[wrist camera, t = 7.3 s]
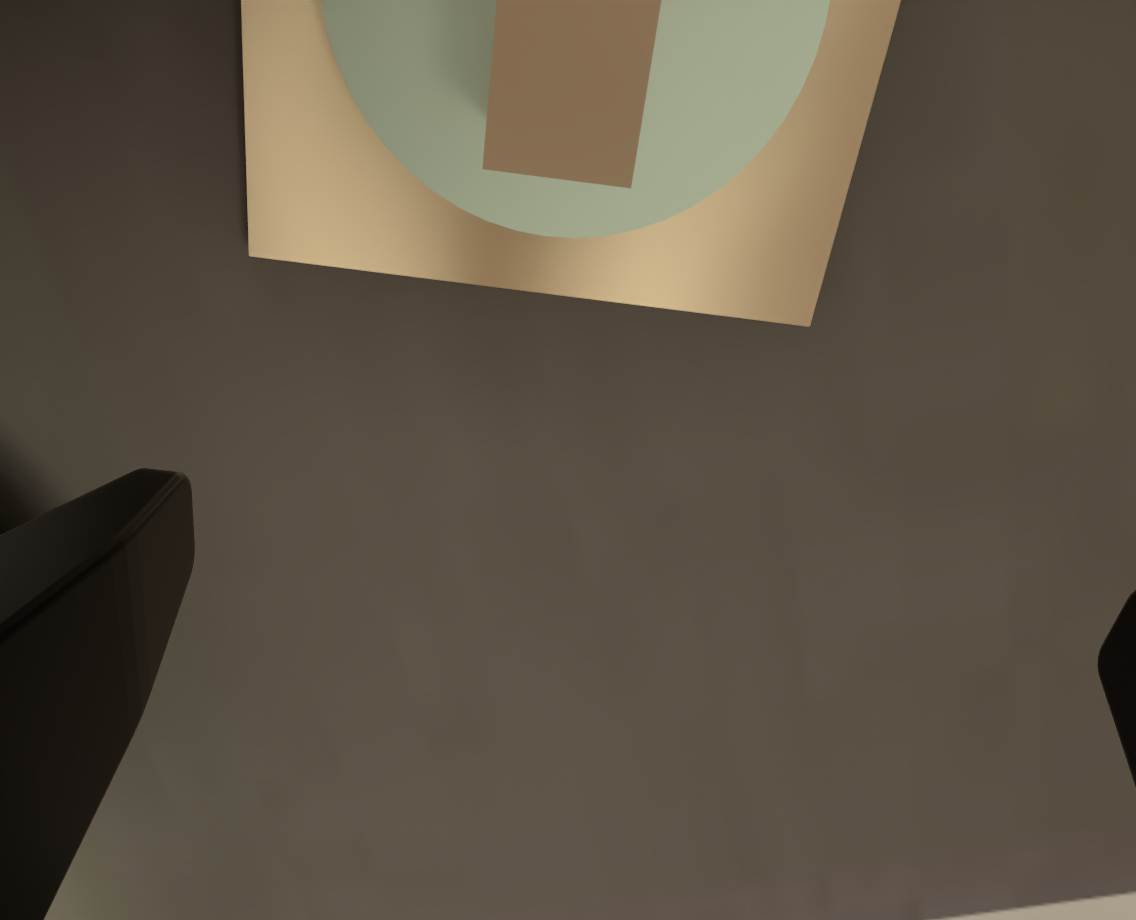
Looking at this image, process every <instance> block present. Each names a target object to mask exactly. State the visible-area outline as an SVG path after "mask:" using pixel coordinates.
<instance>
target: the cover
mask: <svg viewBox="0 0 1136 920" xmlns="http://www.w3.org/2000/svg"><path fill="white" fill-rule="evenodd" d="M829 3H830V0H321V4H322V9H323V15H324V21H325V26H326V29H327V32H328V36H329V39H330V42H331V46H332V49H333V52H334V56H335V59H336V61H337V64H338V66H339V68H340V71H341V73H342V75H343V78H344V80H345V82H346V84H347V87H348V89H349V91H350V93H351V95H352V97H353V98H354V100H355V102H356V104H357V105H358V107H359V109H360V110H361V112H362V114H363V116H364V117H365V119H366V121H367V122H368V124H369V125H370V126H371V128H372V129H373V130H374V132H375V133H376V134H377V136H378V137H379V138H380V140H381V141H382V142H383V144H384V145H385V146H386V148H387V149H388V150H389V151H390V152H391V153H392V154H393V155H394V156H395V157H396V158H397V159H398V160H399V161H400V162H401V163H402V164H403V166H404V167H405V168H406V169H407V170H408V171H409V172H410V173H412V174H413V175H414V176H415V177H416V178H418V179H419V180H420V181H421V182H423V183H424V184H425V185H426V186H427V187H429V188H430V189H431V190H432V191H434V192H435V193H437V194H438V195H440V196H441V197H443V198H444V199H446V200H448V201H449V202H451V203H452V204H454V205H456V206H457V207H459V208H460V209H462V210H465V211H467V212H469V213H471V214H473V215H475V216H477V217H479V218H481V219H484V220H486V221H488V222H491V223H494V224H497V225H500V226H503V227H506V228H509V229H512V230H516V231H520V232H525V233H531V234H536V235H541V236H548V237H565V238H585V237H600V236H608V235H613V234H618V233H623V232H629V231H634V230H637V229H640V228H643V227H646V226H649V225H652V224H655V223H658V222H661V221H664V220H666V219H668V218H670V217H672V216H674V215H676V214H678V213H680V212H682V211H685V210H687V209H689V208H691V207H692V206H694V205H695V204H697V203H699V202H700V201H702V200H703V199H705V198H706V197H708V196H710V195H711V194H713V193H714V192H716V191H717V190H718V189H720V188H721V187H722V186H723V185H724V184H726V183H727V182H728V181H729V180H731V179H732V178H733V177H734V176H735V175H737V174H738V173H739V172H740V171H741V170H742V169H743V168H744V167H745V166H746V165H747V164H748V163H749V162H750V161H751V160H752V159H753V158H754V157H755V156H756V155H757V154H758V153H759V152H760V150H761V149H762V148H763V147H764V146H765V145H766V143H767V142H768V141H769V139H770V138H771V137H772V135H773V134H774V133H775V131H776V130H777V129H778V127H779V126H780V125H781V123H782V122H783V121H784V119H785V117H786V116H787V114H788V112H789V111H790V109H791V107H792V105H793V104H794V102H795V100H796V98H797V97H798V95H799V93H800V92H801V90H802V87H803V85H804V83H805V80H806V78H807V76H808V74H809V71H810V69H811V67H812V64H813V62H814V60H815V57H816V54H817V51H818V47H819V44H820V41H821V37H822V34H823V31H824V28H825V24H826V19H827V14H828V8H829Z"/></svg>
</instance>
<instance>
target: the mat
mask: <svg viewBox="0 0 1136 920" xmlns="http://www.w3.org/2000/svg"><path fill="white" fill-rule="evenodd" d="M900 2H901V0H830V3H829V8H828V14H827V19H826V24H825V28H824V31H823V34H822V37H821V41H820V44H819V47H818V51H817V54H816V57H815V60H814V62H813V64H812V67H811V69H810V71H809V74H808V76H807V78H806V80H805V83H804V85H803V87H802V90H801V92H800V93H799V95H798V97H797V98H796V100H795V102H794V104H793V105H792V107H791V109H790V111H789V112H788V114H787V116H786V117H785V119H784V121H783V122H782V123H781V125H780V126H779V127H778V129H777V130H776V131H775V133H774V134H773V135H772V137H771V138H770V139H769V141H768V142H767V143H766V145H765V146H764V147H763V148H762V149H761V150H760V152H759V153H758V154H757V155H756V156H755V157H754V158H753V159H752V160H751V161H750V162H749V163H748V164H747V165H746V166H745V167H744V168H743V169H742V170H741V171H740V172H739V173H738V174H737V175H735V176H734V177H733V178H732V179H731V180H729V181H728V182H727V183H726V184H724V185H723V186H722V187H721V188H720V189H718V190H717V191H716V192H714V193H713V194H711V195H710V196H708V197H706V198H705V199H703V200H702V201H700V202H699V203H697V204H695V205H694V206H692V207H691V208H689V209H687V210H685V211H682V212H680V213H678V214H676V215H674V216H672V217H670V218H668V219H666V220H664V221H661V222H658V223H655V224H652V225H649V226H646V227H643V228H640V229H637V230H634V231H629V232H623V233H618V234H613V235H608V236H600V237H585V238H565V237H548V236H541V235H536V234H531V233H525V232H520V231H516V230H512V229H509V228H506V227H503V226H500V225H497V224H494V223H491V222H488V221H486V220H484V219H481V218H479V217H477V216H475V215H473V214H471V213H469V212H467V211H465V210H462V209H460V208H459V207H457V206H456V205H454V204H452V203H451V202H449V201H448V200H446V199H444V198H443V197H441V196H440V195H438V194H437V193H435V192H434V191H432V190H431V189H430V188H429V187H427V186H426V185H425V184H424V183H423V182H421V181H420V180H419V179H418V178H416V177H415V176H414V175H413V174H412V173H410V172H409V171H408V170H407V169H406V168H405V167H404V166H403V164H402V163H401V162H400V161H399V160H398V159H397V158H396V157H395V156H394V155H393V154H392V153H391V152H390V151H389V150H388V149H387V148H386V146H385V145H384V144H383V142H382V141H381V140H380V138H379V137H378V136H377V134H376V133H375V132H374V130H373V129H372V128H371V126H370V125H369V124H368V122H367V121H366V119H365V117H364V116H363V114H362V112H361V110H360V109H359V107H358V105H357V104H356V102H355V100H354V98H353V97H352V95H351V93H350V91H349V89H348V87H347V84H346V82H345V80H344V78H343V75H342V73H341V71H340V68H339V66H338V64H337V61H336V59H335V56H334V52H333V49H332V46H331V42H330V39H329V36H328V32H327V29H326V26H325V21H324V15H323V9H322V4H321V0H241V15H242V47H243V79H244V111H245V143H246V175H247V208H248V240H249V256H252V257H260V258H268V259H276V260H284V261H292V262H300V263H308V264H316V265H324V266H332V267H340V268H348V269H355V270H363V271H371V272H379V273H387V274H395V275H403V276H411V277H419V278H427V279H435V280H443V281H451V282H459V283H467V284H475V285H483V286H491V287H498V288H506V289H514V290H522V291H530V292H538V293H546V294H554V295H562V296H570V297H578V298H586V299H594V300H602V301H610V302H618V303H626V304H634V305H642V306H649V307H657V308H665V309H673V310H681V311H689V312H697V313H705V314H713V315H721V316H729V317H737V318H745V319H753V320H761V321H769V322H777V323H785V324H793V325H800V326H808V327H810V324H811V320H812V317H813V313H814V309H815V306H816V302H817V299H818V295H819V292H820V288H821V284H822V281H823V277H824V274H825V270H826V267H827V263H828V259H829V256H830V252H831V249H832V245H833V242H834V238H835V234H836V231H837V227H838V224H839V220H840V217H841V213H842V209H843V206H844V202H845V199H846V195H847V192H848V188H849V184H850V181H851V177H852V174H853V170H854V167H855V163H856V159H857V156H858V152H859V149H860V145H861V142H862V138H863V134H864V131H865V127H866V124H867V120H868V117H869V113H870V109H871V106H872V102H873V99H874V95H875V92H876V88H877V84H878V81H879V77H880V74H881V70H882V67H883V63H884V59H885V56H886V52H887V49H888V45H889V42H890V38H891V34H892V31H893V27H894V24H895V20H896V17H897V13H898V9H899V6H900Z"/></svg>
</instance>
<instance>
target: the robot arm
mask: <svg viewBox="0 0 1136 920" xmlns="http://www.w3.org/2000/svg"><path fill="white" fill-rule="evenodd" d="M194 554H195V542H194V525H193V507H192V491H191V485H190V481H189V479H188V478H187V476H186V475H184V474H183V473H180V472H173V471H164V470H156V469H147V468H142V469H138V470H135V471H133V472H131V473H128V474H126V475H124V476H122V477H120V478H118V479H116V480H114V481H112V482H110V483H107V484H105V485H103V486H101V487H99V488H97V489H95V490H93V491H91V492H89V493H86V494H84V495H82V496H80V497H78V498H76V499H74V500H72V501H70V502H68V503H65V504H63V505H61V506H59V507H57V508H55V509H53V510H51V511H49V512H47V513H44V514H42V515H40V516H38V517H36V518H34V519H32V520H30V521H28V522H26V523H23V524H21V525H19V526H17V527H15V528H13V529H11V530H9V531H7V532H5V533H2V534H0V920H44V918H45V916H46V914H47V912H48V910H49V908H50V906H51V904H52V902H53V900H54V898H55V896H56V894H57V891H58V889H59V887H60V885H61V883H62V881H63V879H64V877H65V875H66V873H67V871H68V869H69V867H70V865H71V863H72V861H73V859H74V856H75V854H76V852H77V850H78V848H79V846H80V844H81V842H82V840H83V838H84V836H85V834H86V832H87V830H88V828H89V826H90V824H91V822H92V819H93V817H94V815H95V813H96V811H97V809H98V807H99V805H100V803H101V801H102V799H103V797H104V795H105V793H106V791H107V789H108V787H109V785H110V782H111V780H112V778H113V776H114V774H115V772H116V770H117V768H118V766H119V764H120V762H121V760H122V758H123V756H124V754H125V752H126V750H127V747H128V745H129V743H130V741H131V739H132V737H133V735H134V733H135V730H136V728H137V726H138V724H139V721H140V719H141V717H142V715H143V712H144V709H145V707H146V704H147V701H148V698H149V696H150V693H151V690H152V687H153V684H154V681H155V678H156V675H157V673H158V670H159V667H160V664H161V661H162V658H163V655H164V652H165V649H166V646H167V643H168V640H169V637H170V634H171V631H172V628H173V626H174V623H175V620H176V617H177V614H178V611H179V608H180V605H181V602H182V599H183V596H184V593H185V590H186V587H187V584H188V581H189V579H190V575H191V572H192V568H193V563H194ZM1098 673H1099V677H1100V680H1101V683H1102V686H1103V689H1104V692H1105V695H1106V698H1107V701H1108V704H1109V707H1110V710H1111V713H1112V716H1113V719H1114V722H1115V725H1116V728H1117V731H1118V734H1119V738H1120V741H1121V744H1122V747H1123V750H1124V753H1125V756H1126V759H1127V762H1128V765H1129V768H1130V771H1131V774H1132V777H1133V780H1134V783H1135V786H1136V590H1135V591H1134V592H1133V593H1132V594H1131V595H1130V596H1129V598H1128V599H1127V601H1126V603H1125V605H1124V606H1123V608H1122V610H1121V612H1120V614H1119V615H1118V617H1117V619H1116V621H1115V623H1114V625H1113V626H1112V628H1111V630H1110V632H1109V634H1108V635H1107V637H1106V639H1105V641H1104V643H1103V644H1102V647H1101V649H1100V652H1099V656H1098Z"/></svg>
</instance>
